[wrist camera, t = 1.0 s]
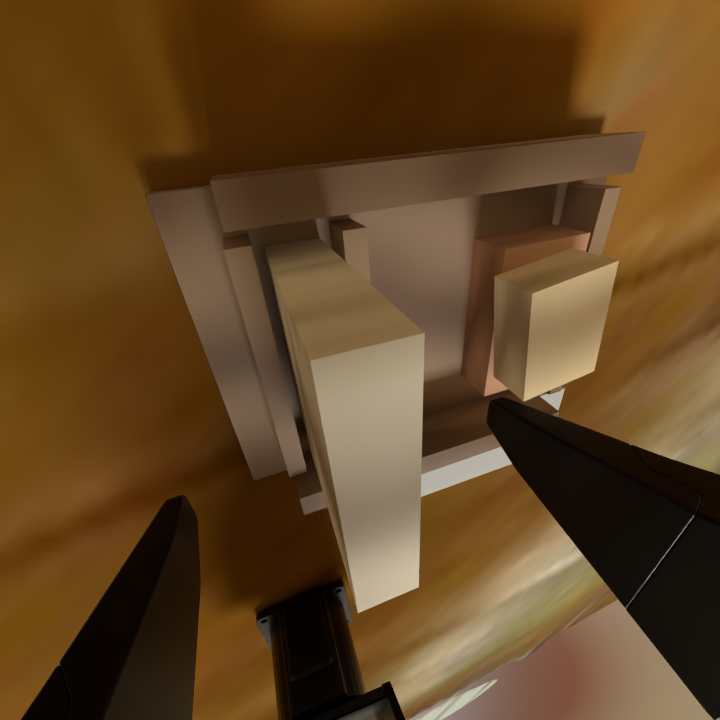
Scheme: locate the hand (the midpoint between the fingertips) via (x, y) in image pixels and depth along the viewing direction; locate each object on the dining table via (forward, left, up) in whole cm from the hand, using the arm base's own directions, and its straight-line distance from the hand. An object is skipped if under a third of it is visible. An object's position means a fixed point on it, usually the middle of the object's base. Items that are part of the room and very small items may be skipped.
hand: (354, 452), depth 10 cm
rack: (0, -5, -7) cm, 8 cm away
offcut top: (0, -9, -4) cm, 10 cm away
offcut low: (0, -10, -6) cm, 11 cm away
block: (0, 0, -6) cm, 6 cm away
